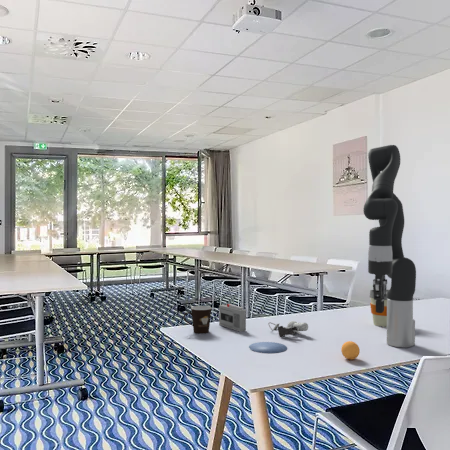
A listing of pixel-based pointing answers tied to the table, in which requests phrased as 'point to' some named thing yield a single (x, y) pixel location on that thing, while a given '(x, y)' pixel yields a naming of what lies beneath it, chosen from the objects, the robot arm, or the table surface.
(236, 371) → the table surface
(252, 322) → the table surface
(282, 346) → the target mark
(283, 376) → the table surface
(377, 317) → the reusable coffee cup
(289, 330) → the clip-on lamp
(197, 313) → the coffee mug
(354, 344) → the ball
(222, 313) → the cassette player
